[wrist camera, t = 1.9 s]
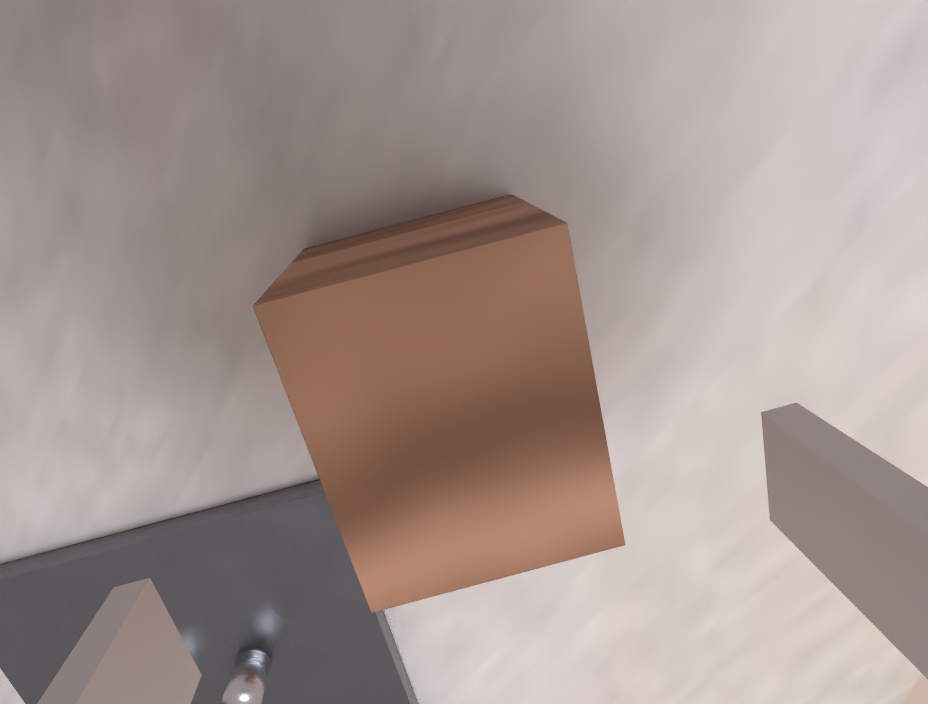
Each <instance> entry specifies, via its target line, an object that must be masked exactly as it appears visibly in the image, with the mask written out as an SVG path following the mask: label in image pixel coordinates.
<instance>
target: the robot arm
mask: <svg viewBox="0 0 928 704" xmlns="http://www.w3.org/2000/svg"><path fill="white" fill-rule="evenodd" d="M761 415H762V427H763V439H764V452H765V464H766V476H767V488H768V501H769V513H770V520H771V521H772V522H773V523H774V525H775V526H776V527H777V528H778V529H779V530H780V531H781V532H782V533H783V534H784V535H785V536H786V537H787V538H788V539H789V540H790V541H791V542H792V543H793V544H794V545H795V546H796V547H797V548H798V549H799V550H800V551H801V552H802V553H803V554H804V555H805V556H806V557H807V558H808V559H809V560H810V561H811V562H812V563H813V564H814V565H815V566H816V567H817V568H818V569H819V570H820V571H821V572H822V573H823V574H824V575H825V576H826V577H827V578H828V579H829V580H830V581H831V582H832V583H833V584H834V585H835V586H836V587H837V588H838V589H839V590H840V591H841V592H842V593H843V594H844V595H845V596H846V597H847V598H848V599H849V600H850V601H851V602H852V603H853V604H854V605H855V606H856V607H857V608H858V609H859V610H860V611H861V612H862V613H863V614H864V615H865V616H866V617H867V618H868V619H869V620H870V621H871V622H872V623H873V624H874V625H875V626H876V627H877V628H878V629H879V630H880V631H881V632H882V633H883V634H884V635H885V637H886V638H887V639H888V640H889V641H890V642H891V643H892V644H893V645H894V646H895V647H896V648H897V649H898V650H899V651H900V652H901V653H902V654H903V655H904V656H905V657H906V658H907V659H908V660H909V661H910V662H911V663H912V664H913V665H914V666H915V667H916V668H917V669H918V670H919V671H920V672H921V673H922V674H923V675H924V676H925V677H926V678H927V679H928V487H926V486H925V485H923V484H922V483H920V482H919V481H917V480H916V479H914V478H912V477H911V476H909V475H908V474H906V473H905V472H903V471H902V470H900V469H899V468H897V467H895V466H894V465H892V464H891V463H889V462H888V461H886V460H885V459H883V458H881V457H880V456H878V455H877V454H875V453H874V452H872V451H871V450H869V449H867V448H866V447H864V446H863V445H861V444H860V443H858V442H857V441H855V440H854V439H852V438H850V437H849V436H847V435H846V434H844V433H843V432H841V431H840V430H838V429H836V428H835V427H833V426H832V425H830V424H829V423H827V422H826V421H824V420H822V419H821V418H819V417H818V416H816V415H815V414H813V413H812V412H810V411H809V410H807V409H805V408H804V407H802V406H801V405H799V404H798V403H794V404H790V405H786V406H783V407H779V408H775V409H772V410H768V411H764V412H761ZM201 676H202V675H201V673H200V671H199V669H198V667H197V665H196V664H195V662H194V660H193V658H192V656H191V654H190V652H189V650H188V648H187V647H186V645H185V643H184V641H183V639H182V637H181V635H180V633H179V632H178V630H177V628H176V626H175V624H174V622H173V620H172V618H171V616H170V615H169V613H168V611H167V609H166V607H165V605H164V603H163V601H162V600H161V598H160V596H159V594H158V592H157V590H156V588H155V586H154V585H153V583H152V581H151V579H150V578H147V579H143V580H139V581H135V582H132V583H128V584H124V585H121V586H117V587H114V588H113V589H112V591H111V592H110V594H109V595H108V597H107V598H106V600H105V601H104V603H103V604H102V606H101V607H100V609H99V610H98V612H97V614H96V615H95V617H94V618H93V620H92V621H91V623H90V624H89V626H88V627H87V629H86V630H85V632H84V633H83V635H82V636H81V638H80V639H79V641H78V642H77V644H76V645H75V647H74V649H73V650H72V652H71V653H70V655H69V656H68V658H67V659H66V661H65V662H64V664H63V665H62V667H61V668H60V670H59V671H58V673H57V674H56V676H55V677H54V679H53V681H52V682H51V684H50V685H49V687H48V688H47V690H46V691H45V693H44V694H43V696H42V697H41V699H40V700H39V702H38V703H37V704H191V702H192V699H193V697H194V694H195V691H196V689H197V686H198V683H199V681H200V678H201Z"/></svg>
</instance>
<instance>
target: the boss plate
mask: <svg viewBox="0 0 928 704" xmlns="http://www.w3.org/2000/svg"><path fill="white" fill-rule="evenodd" d="M147 578H150V579H151V581H152V583H153V585H154V586H155V588H156V590H157V592H158V594H159V596H160V598H161V600H162V601H163V603H164V605H165V607H166V609H167V611H168V613H169V615H170V616H171V618H172V620H173V622H174V624H175V626H176V628H177V630H178V632H179V633H180V635H181V637H182V639H183V641H184V643H185V645H186V647H187V648H188V650H189V652H190V654H191V656H192V658H193V660H194V662H195V664H196V665H197V667H198V669H199V671H200V673H201V675H202V676H201V678H200V681H199V683H198V686H197V689H196V691H195V694H194V697H193V699H192V702H191V704H418V702H417V699H416V697H415V694H414V692H413V689H412V686H411V684H410V681H409V678H408V676H407V673H406V670H405V668H404V665H403V662H402V660H401V657H400V654H399V652H398V649H397V647H396V644H395V641H394V639H393V636H392V633H391V631H390V628H389V625H388V623H387V620H386V617H385V615H384V612H383V610H380V611H376V612H373V613H371V610H370V608H369V605H368V602H367V600H366V597H365V595H364V592H363V589H362V587H361V584H360V582H359V579H358V577H357V574H356V571H355V569H354V566H353V564H352V561H351V559H350V556H349V553H348V551H347V548H346V546H345V543H344V540H343V538H342V535H341V533H340V530H339V528H338V525H337V522H336V520H335V517H334V515H333V512H332V509H331V507H330V504H329V502H328V499H327V497H326V494H325V491H324V489H323V486H322V484H321V481H320V480H317V481H313V482H309V483H305V484H302V485H298V486H294V487H290V488H287V489H283V490H279V491H275V492H272V493H268V494H264V495H260V496H257V497H253V498H249V499H245V500H242V501H238V502H234V503H230V504H226V505H223V506H219V507H215V508H211V509H208V510H204V511H200V512H196V513H193V514H189V515H185V516H181V517H178V518H174V519H170V520H166V521H163V522H159V523H155V524H151V525H147V526H144V527H140V528H136V529H132V530H129V531H125V532H121V533H117V534H114V535H110V536H106V537H102V538H99V539H95V540H91V541H87V542H84V543H80V544H76V545H72V546H68V547H65V548H61V549H57V550H53V551H50V552H46V553H42V554H38V555H35V556H31V557H27V558H23V559H20V560H16V561H12V562H8V563H5V564H1V565H0V668H1V670H2V671H3V672H4V674H5V675H6V677H7V678H8V679H9V681H10V682H11V684H12V685H13V687H14V688H15V689H16V691H17V692H18V694H19V695H20V696H21V698H22V699H23V701H24V702H25V704H37V703H38V702H39V700H40V699H41V697H42V696H43V694H44V693H45V691H46V690H47V688H48V687H49V685H50V684H51V682H52V681H53V679H54V677H55V676H56V674H57V673H58V671H59V670H60V668H61V667H62V665H63V664H64V662H65V661H66V659H67V658H68V656H69V655H70V653H71V652H72V650H73V649H74V647H75V645H76V644H77V642H78V641H79V639H80V638H81V636H82V635H83V633H84V632H85V630H86V629H87V627H88V626H89V624H90V623H91V621H92V620H93V618H94V617H95V615H96V614H97V612H98V610H99V609H100V607H101V606H102V604H103V603H104V601H105V600H106V598H107V597H108V595H109V594H110V592H111V591H112V589H113V588H114V587H117V586H121V585H124V584H128V583H132V582H135V581H139V580H143V579H147Z"/></svg>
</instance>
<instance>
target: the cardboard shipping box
mask: <svg viewBox="0 0 928 704" xmlns="http://www.w3.org/2000/svg"><path fill="white" fill-rule="evenodd" d="M253 308H254V311H255V313H256V316H257V318H258V321H259V323H260V326H261V329H262V331H263V334H264V336H265V339H266V342H267V344H268V347H269V349H270V352H271V354H272V357H273V360H274V362H275V365H276V367H277V370H278V373H279V375H280V378H281V380H282V383H283V385H284V388H285V391H286V393H287V396H288V398H289V401H290V404H291V406H292V409H293V411H294V414H295V416H296V419H297V422H298V424H299V427H300V429H301V432H302V435H303V437H304V440H305V442H306V445H307V447H308V450H309V453H310V455H311V458H312V460H313V463H314V466H315V468H316V471H317V473H318V476H319V478H320V481H321V484H322V486H323V489H324V491H325V494H326V497H327V499H328V502H329V504H330V507H331V509H332V512H333V515H334V517H335V520H336V522H337V525H338V528H339V530H340V533H341V535H342V538H343V540H344V543H345V546H346V548H347V551H348V553H349V556H350V559H351V561H352V564H353V566H354V569H355V571H356V574H357V577H358V579H359V582H360V584H361V587H362V589H363V592H364V595H365V597H366V600H367V602H368V605H369V608H370V610H371V613H373V612H376V611H380V610H384V609H388V608H391V607H395V606H399V605H403V604H406V603H410V602H414V601H418V600H421V599H425V598H429V597H433V596H436V595H440V594H444V593H448V592H451V591H455V590H459V589H462V588H466V587H470V586H474V585H477V584H481V583H485V582H489V581H492V580H496V579H500V578H504V577H507V576H511V575H515V574H519V573H522V572H526V571H530V570H534V569H537V568H541V567H545V566H548V565H552V564H556V563H560V562H563V561H567V560H571V559H575V558H578V557H582V556H586V555H590V554H593V553H597V552H601V551H605V550H608V549H612V548H616V547H620V546H623V545H625V541H624V535H623V530H622V524H621V519H620V513H619V508H618V502H617V497H616V491H615V486H614V480H613V475H612V469H611V464H610V458H609V452H608V447H607V441H606V436H605V430H604V425H603V419H602V414H601V408H600V403H599V397H598V392H597V386H596V380H595V375H594V369H593V364H592V358H591V353H590V347H589V342H588V336H587V331H586V325H585V320H584V314H583V309H582V303H581V297H580V292H579V286H578V281H577V275H576V270H575V264H574V259H573V253H572V248H571V242H570V237H569V231H568V226H567V223H566V222H564V221H562V220H560V219H558V218H556V217H554V216H552V215H550V214H548V213H546V212H544V211H543V210H541V209H539V208H537V207H535V206H533V205H531V204H529V203H527V202H525V201H523V200H521V199H519V198H517V197H515V196H514V195H509V196H505V197H501V198H497V199H493V200H490V201H486V202H482V203H478V204H474V205H471V206H467V207H463V208H459V209H455V210H452V211H448V212H444V213H440V214H436V215H433V216H429V217H425V218H421V219H417V220H414V221H410V222H406V223H402V224H398V225H395V226H391V227H387V228H383V229H379V230H376V231H372V232H368V233H364V234H360V235H357V236H353V237H349V238H345V239H341V240H338V241H334V242H330V243H326V244H322V245H319V246H315V247H311V248H307V249H304V250H303V251H302V252H301V253H300V254H299V255H298V256H297V258H296V259H295V260H294V261H293V262H292V263H291V264H290V265H289V266H288V268H287V269H286V270H285V271H284V272H283V273H282V274H281V275H280V276H279V277H278V279H277V280H276V281H275V282H274V283H273V284H272V285H271V286H270V287H269V289H268V290H267V291H266V292H265V293H264V294H263V295H262V296H261V297H260V299H259V300H258V301H257V302H256V303H255V304H254V305H253Z"/></svg>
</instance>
